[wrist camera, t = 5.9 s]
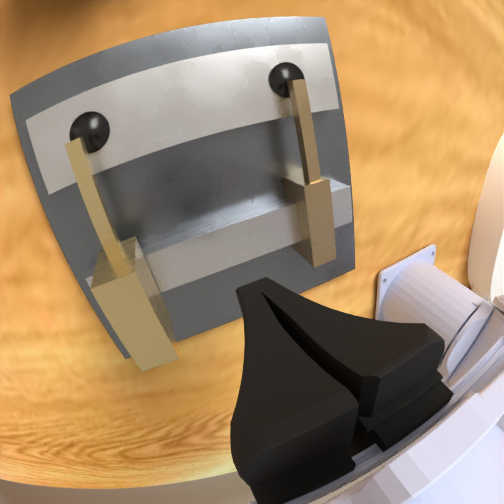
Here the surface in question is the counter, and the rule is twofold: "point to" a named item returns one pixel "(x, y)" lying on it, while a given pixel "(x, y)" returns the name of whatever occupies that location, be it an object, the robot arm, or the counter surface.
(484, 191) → the white circle with bar
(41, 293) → the counter surface
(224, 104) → the grey mechanism base plate
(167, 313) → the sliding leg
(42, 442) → the counter surface
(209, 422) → the counter surface
